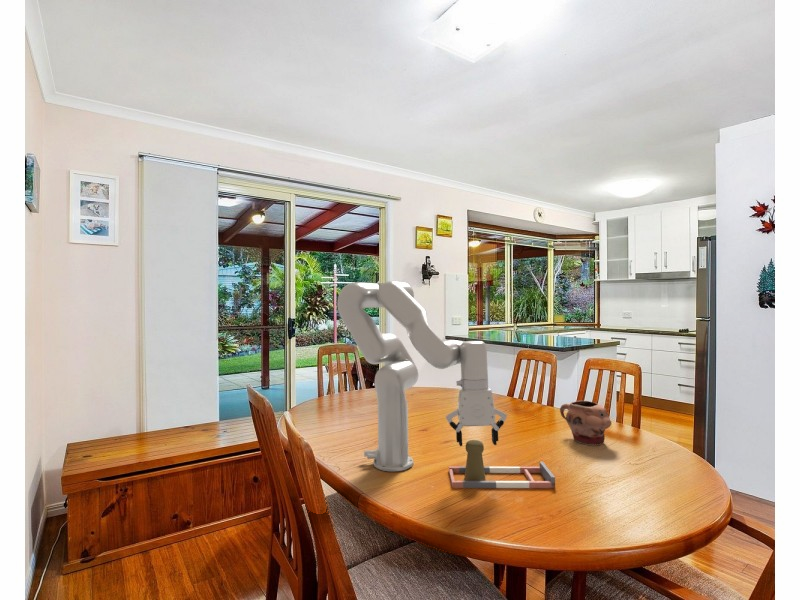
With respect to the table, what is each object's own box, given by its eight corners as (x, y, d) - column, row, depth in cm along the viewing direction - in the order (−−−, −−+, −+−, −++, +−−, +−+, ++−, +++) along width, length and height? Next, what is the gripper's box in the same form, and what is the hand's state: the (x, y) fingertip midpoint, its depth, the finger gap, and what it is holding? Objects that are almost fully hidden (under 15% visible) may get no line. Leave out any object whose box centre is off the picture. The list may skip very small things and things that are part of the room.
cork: (469, 485, 118) (469, 445, 118) (461, 476, 124) (460, 438, 124) (489, 482, 120) (489, 443, 120) (479, 473, 126) (479, 436, 126)
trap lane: (452, 487, 117) (452, 476, 117) (448, 471, 128) (448, 461, 128) (555, 488, 116) (555, 477, 116) (542, 471, 127) (542, 461, 127)
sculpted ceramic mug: (549, 437, 158) (549, 399, 158) (567, 430, 165) (567, 395, 165) (603, 452, 142) (602, 410, 142) (620, 444, 149) (620, 404, 149)
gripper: (445, 388, 118) (448, 449, 118) (508, 385, 118) (510, 447, 117) (443, 383, 126) (446, 440, 125) (502, 380, 125) (505, 439, 125)
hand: (477, 444), depth 121 cm, fingers open, 9 cm apart
